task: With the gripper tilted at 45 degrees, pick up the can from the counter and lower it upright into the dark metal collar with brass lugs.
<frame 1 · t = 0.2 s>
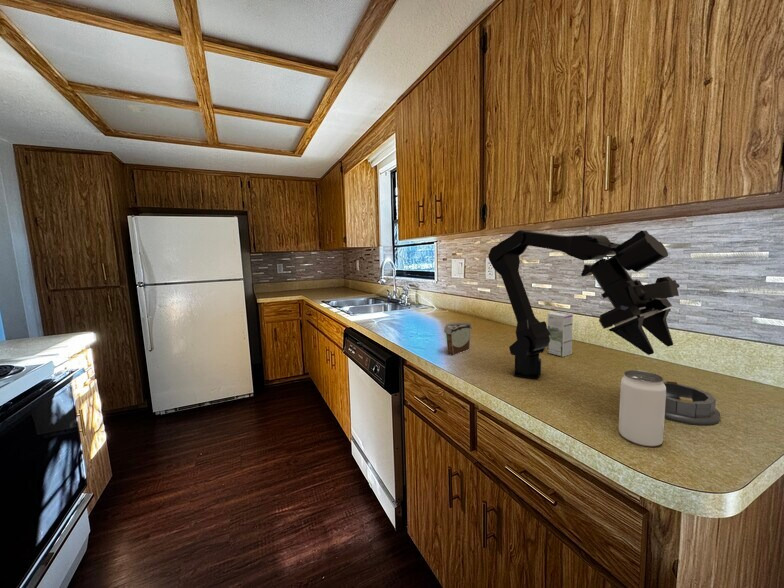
hand: (661, 349, 63), 15 cm above the countertop, tool tilted 35°, fingers open, 9 cm apart
syrup box: (559, 354, 107), on the countertop
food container: (454, 351, 115), on the countertop
can: (639, 438, 58), on the countertop
collar: (676, 409, 68), on the countertop
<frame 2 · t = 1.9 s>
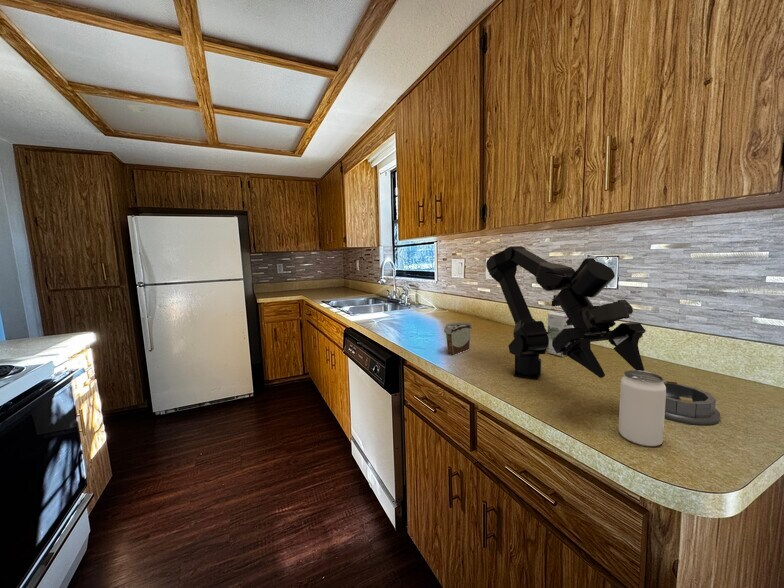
hand: (622, 374, 61), 11 cm above the countertop, tool tilted 45°, fingers open, 9 cm apart
nothing on the countertop moved.
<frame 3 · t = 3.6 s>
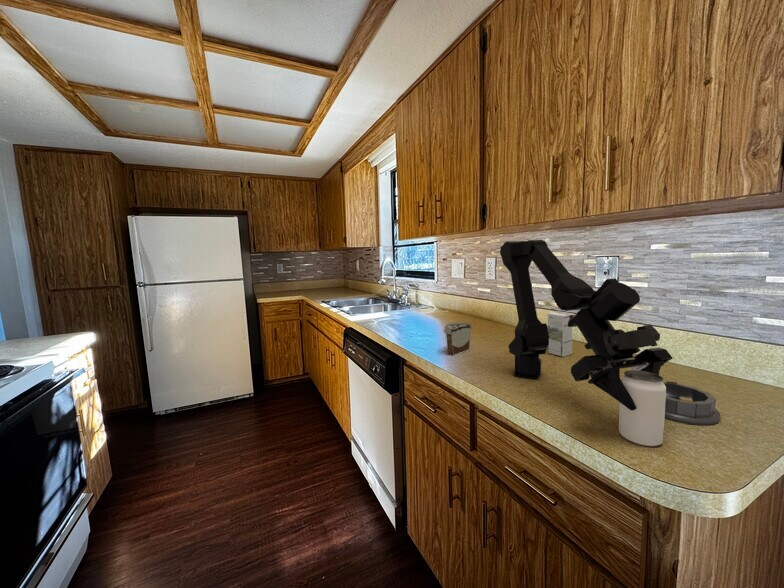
hand: (649, 407, 56), 7 cm above the countertop, tool tilted 45°, fingers closed on can, 6 cm apart
can: (639, 438, 58), on the countertop, touching gripper
everything else where it was.
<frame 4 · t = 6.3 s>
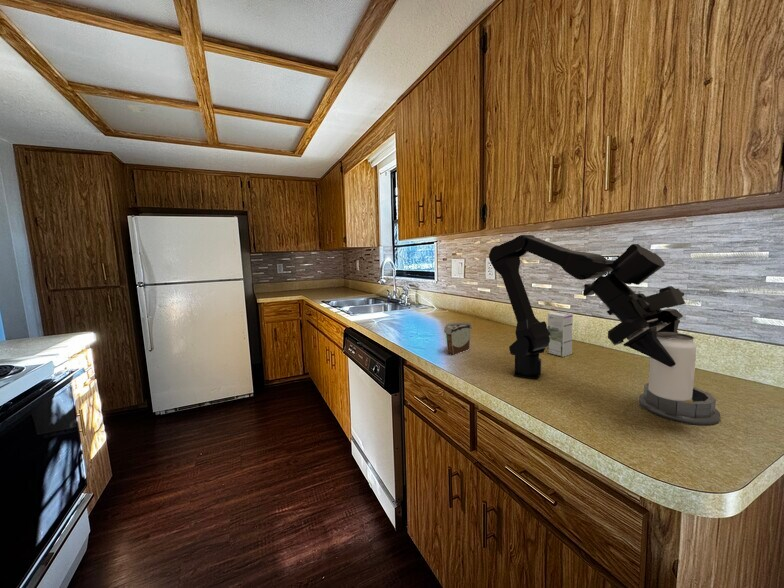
hand: (680, 362, 59), 13 cm above the countertop, tool tilted 45°, fingers closed on can, 6 cm apart
can: (669, 395, 61), point 6 cm above the countertop, touching gripper
everything else where it was.
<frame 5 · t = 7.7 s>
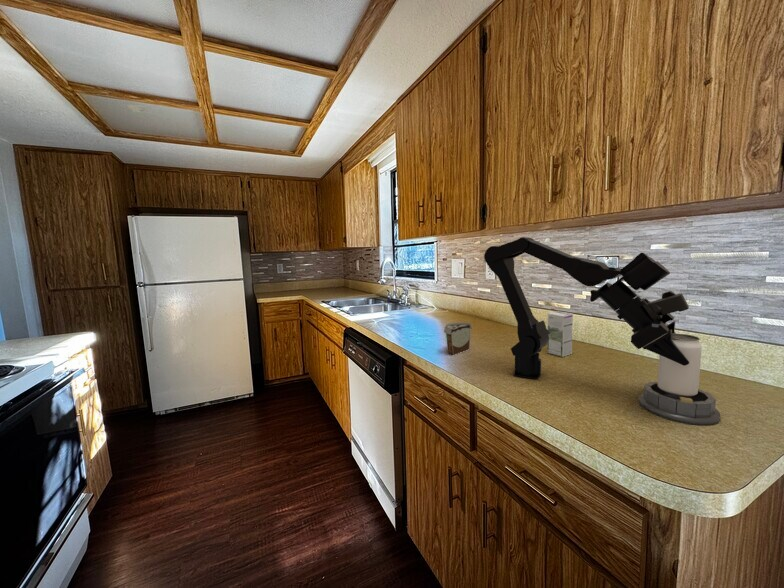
hand: (687, 360, 65), 11 cm above the countertop, tool tilted 45°, fingers closed on can, 6 cm apart
can: (676, 391, 67), point 4 cm above the countertop, touching gripper
everything else where it was.
when the fingers open (8 cm above the countertop, at t = 8.8 s): can stays where it is, resting on collar.
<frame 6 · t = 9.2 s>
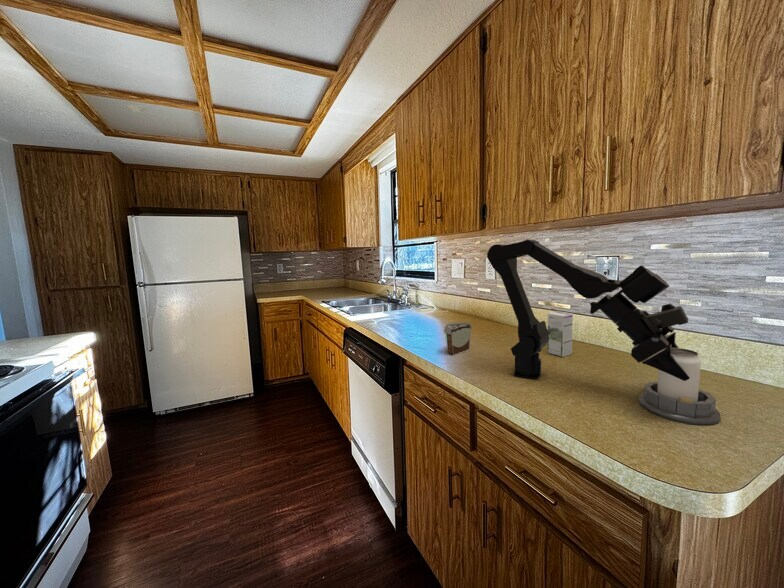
hand: (688, 373, 66), 9 cm above the countertop, tool tilted 45°, fingers open, 9 cm apart
can: (676, 405, 68), point 1 cm above the countertop, touching collar
everything else where it was.
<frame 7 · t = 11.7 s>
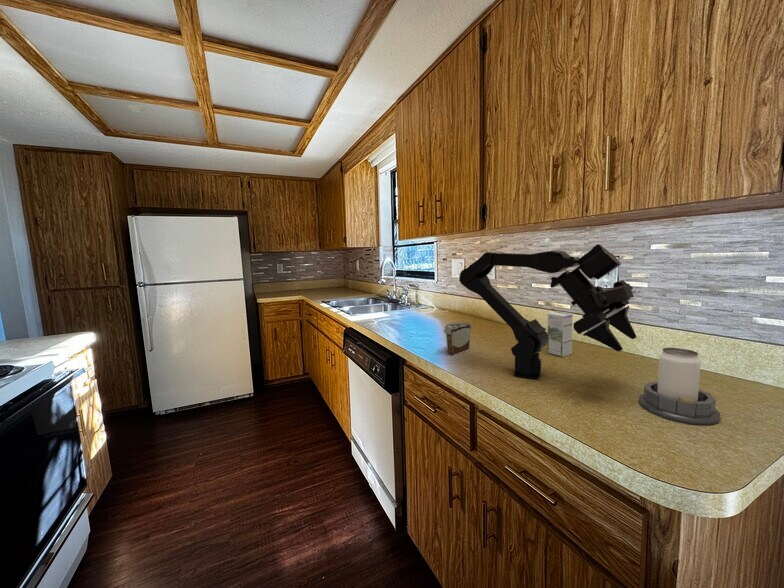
hand: (627, 344, 73), 13 cm above the countertop, tool tilted 40°, fingers open, 9 cm apart
nothing on the countertop moved.
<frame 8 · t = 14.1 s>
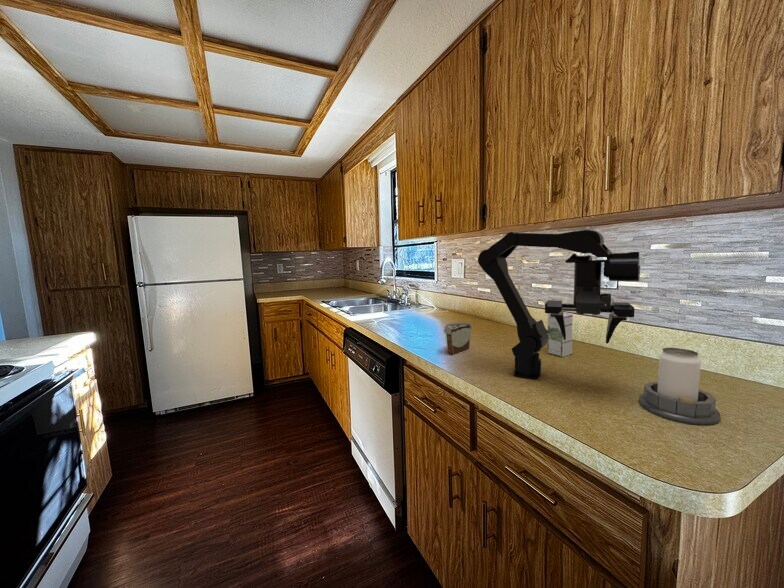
hand: (585, 341, 80), 12 cm above the countertop, tool pointing down, fingers open, 9 cm apart
nothing on the countertop moved.
at the end: can 0.1 cm off-centre on the collar, point 0.8 cm above the collar's base; can tilted 0°; the gripper is holding nothing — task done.
